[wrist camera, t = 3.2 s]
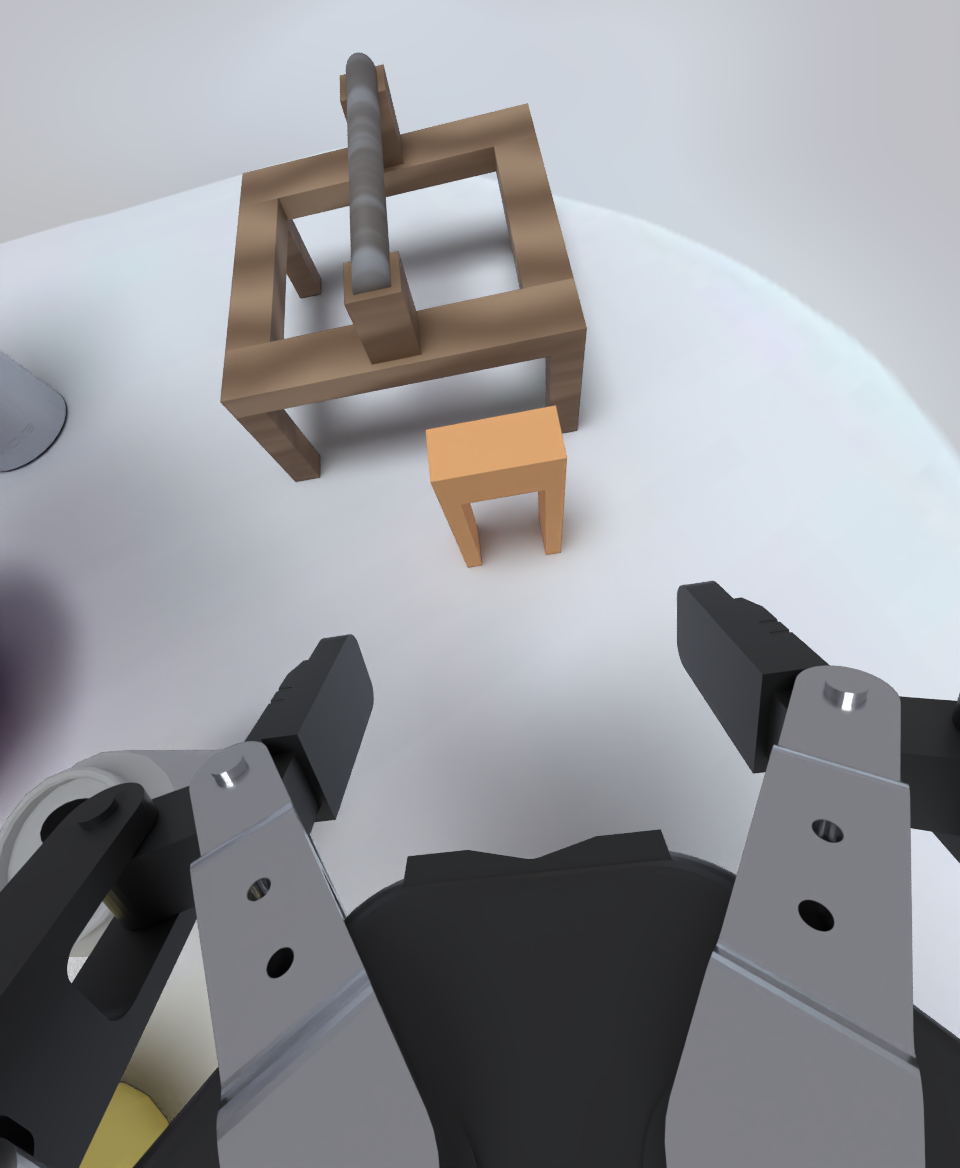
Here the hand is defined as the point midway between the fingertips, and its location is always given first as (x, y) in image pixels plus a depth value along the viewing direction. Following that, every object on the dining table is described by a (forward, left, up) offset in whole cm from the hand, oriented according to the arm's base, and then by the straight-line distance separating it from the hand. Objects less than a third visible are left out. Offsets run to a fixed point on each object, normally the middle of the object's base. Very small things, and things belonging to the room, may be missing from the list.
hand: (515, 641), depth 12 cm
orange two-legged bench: (-9, +7, -18) cm, 21 cm away
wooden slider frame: (-27, +13, -18) cm, 35 cm away
